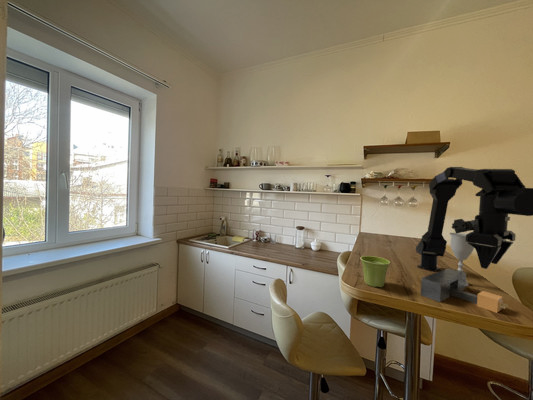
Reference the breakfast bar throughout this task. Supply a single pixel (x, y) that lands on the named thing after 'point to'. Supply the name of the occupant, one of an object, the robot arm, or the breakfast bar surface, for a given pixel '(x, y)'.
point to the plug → (480, 299)
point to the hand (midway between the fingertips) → (489, 265)
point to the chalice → (460, 249)
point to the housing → (442, 284)
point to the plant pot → (374, 270)
